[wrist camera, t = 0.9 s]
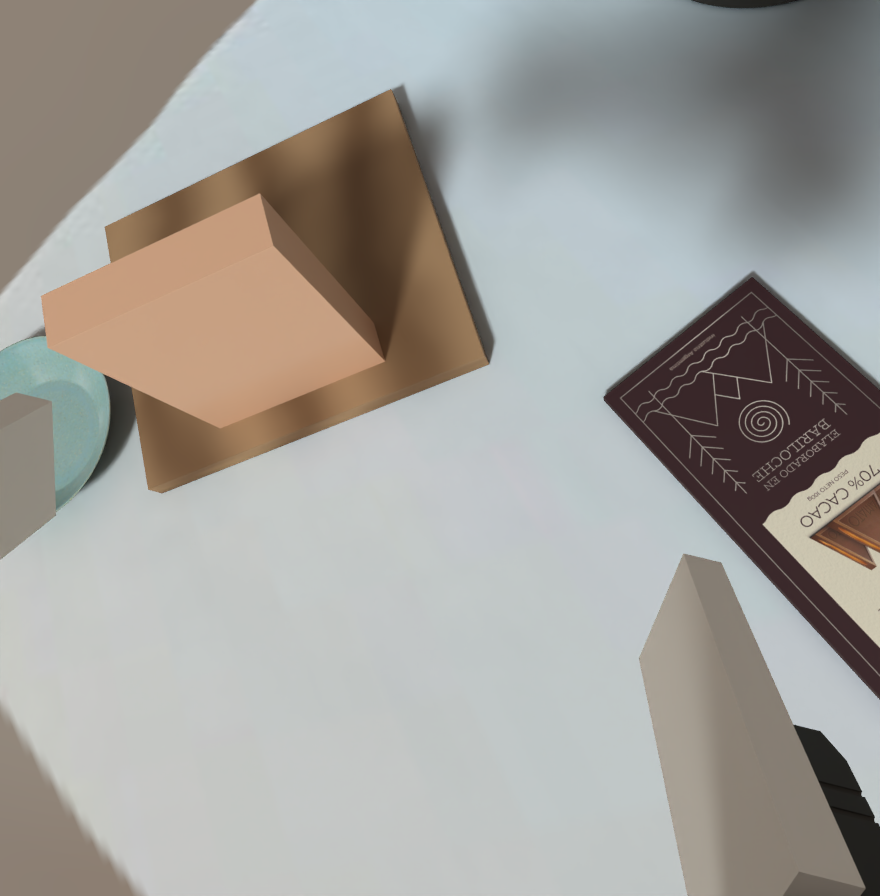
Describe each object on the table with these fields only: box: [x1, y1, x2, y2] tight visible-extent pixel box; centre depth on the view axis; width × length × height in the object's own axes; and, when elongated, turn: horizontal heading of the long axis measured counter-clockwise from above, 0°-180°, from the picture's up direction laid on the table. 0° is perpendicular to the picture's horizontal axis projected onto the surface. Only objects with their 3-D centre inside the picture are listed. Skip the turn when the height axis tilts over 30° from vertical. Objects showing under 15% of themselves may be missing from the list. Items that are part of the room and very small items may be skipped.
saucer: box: [0, 336, 111, 512], centre depth 42 cm, size 12×12×2 cm
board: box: [105, 89, 489, 493], centre depth 40 cm, size 20×18×1 cm
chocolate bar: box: [604, 277, 880, 699], centre depth 31 cm, size 9×1×18 cm
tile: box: [41, 193, 385, 428], centre depth 32 cm, size 10×3×12 cm, turn 108°
